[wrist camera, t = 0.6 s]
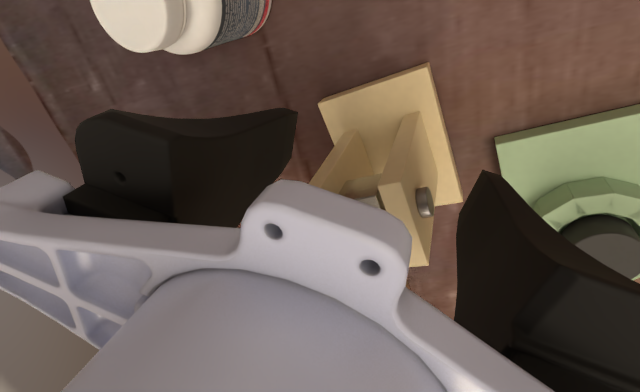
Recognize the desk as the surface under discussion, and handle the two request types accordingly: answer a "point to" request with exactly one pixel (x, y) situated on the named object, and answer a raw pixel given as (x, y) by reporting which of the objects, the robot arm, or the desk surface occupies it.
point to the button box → (577, 167)
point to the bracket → (394, 149)
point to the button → (607, 242)
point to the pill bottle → (179, 22)
